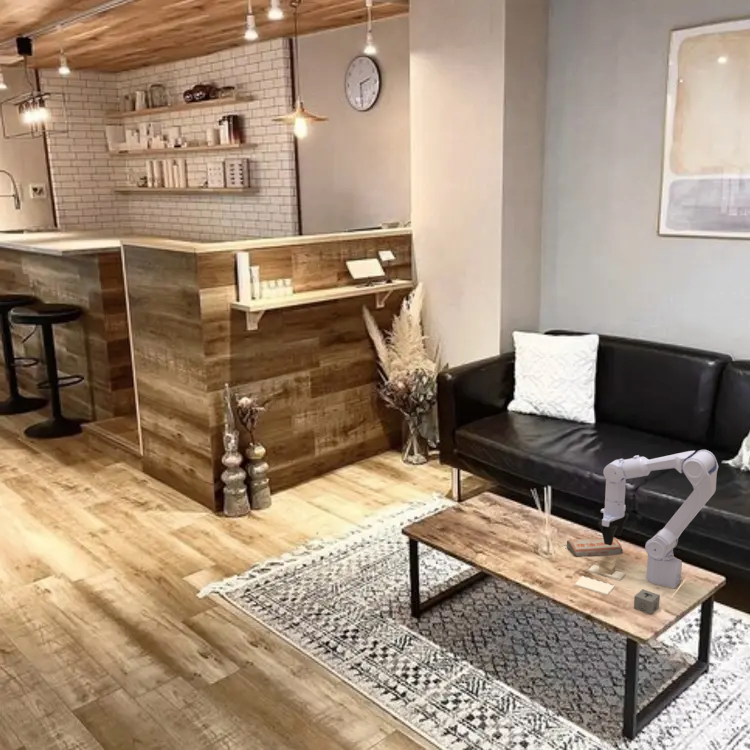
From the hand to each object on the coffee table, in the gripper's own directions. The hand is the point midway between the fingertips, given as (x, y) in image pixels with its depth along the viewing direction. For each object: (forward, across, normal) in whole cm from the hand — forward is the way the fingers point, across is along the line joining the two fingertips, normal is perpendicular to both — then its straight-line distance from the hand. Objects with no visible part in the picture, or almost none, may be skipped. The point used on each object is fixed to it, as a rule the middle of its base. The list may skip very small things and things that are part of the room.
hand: (612, 539), depth 239 cm
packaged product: (+10, -6, -8) cm, 14 cm away
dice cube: (+10, +19, +17) cm, 28 cm away
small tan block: (+8, +6, +1) cm, 11 cm away
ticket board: (+9, +12, +1) cm, 15 cm away
